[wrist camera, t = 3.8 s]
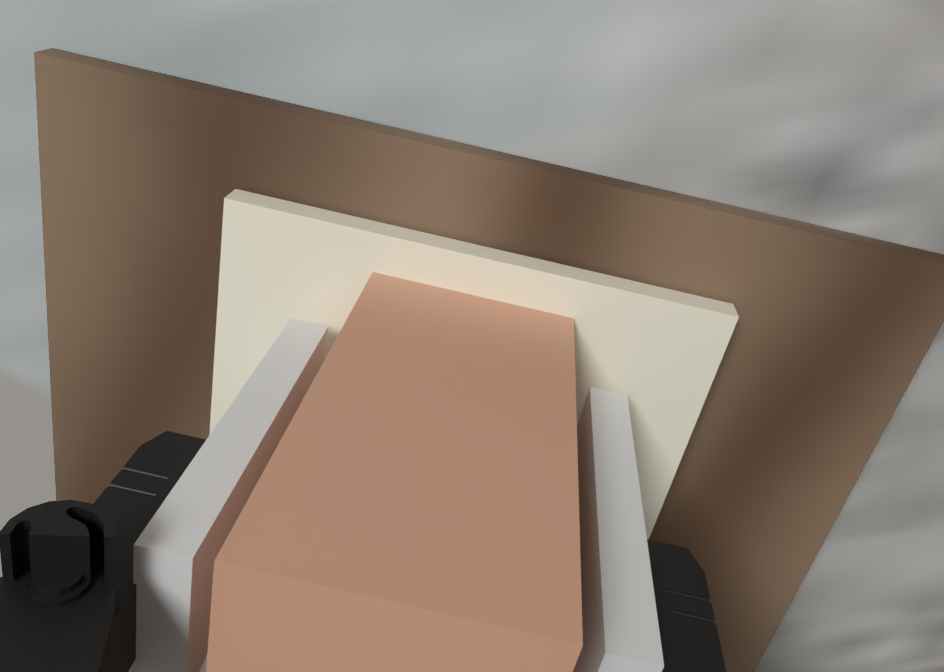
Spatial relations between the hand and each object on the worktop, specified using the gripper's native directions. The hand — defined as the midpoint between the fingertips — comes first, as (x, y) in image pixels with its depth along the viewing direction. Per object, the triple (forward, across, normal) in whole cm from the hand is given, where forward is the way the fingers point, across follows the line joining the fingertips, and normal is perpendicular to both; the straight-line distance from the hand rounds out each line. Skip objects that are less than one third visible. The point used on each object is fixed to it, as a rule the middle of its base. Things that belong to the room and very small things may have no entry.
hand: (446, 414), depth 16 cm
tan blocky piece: (+1, 0, 0) cm, 1 cm away
